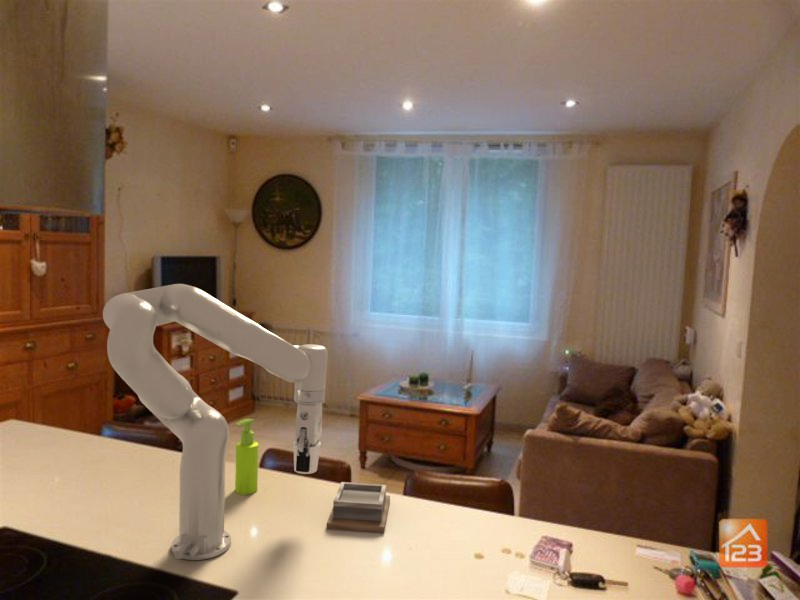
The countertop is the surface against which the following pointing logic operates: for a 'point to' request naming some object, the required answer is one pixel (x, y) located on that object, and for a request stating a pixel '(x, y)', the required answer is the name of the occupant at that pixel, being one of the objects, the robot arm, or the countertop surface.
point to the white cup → (312, 453)
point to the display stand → (359, 508)
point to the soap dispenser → (246, 460)
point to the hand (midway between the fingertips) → (305, 465)
